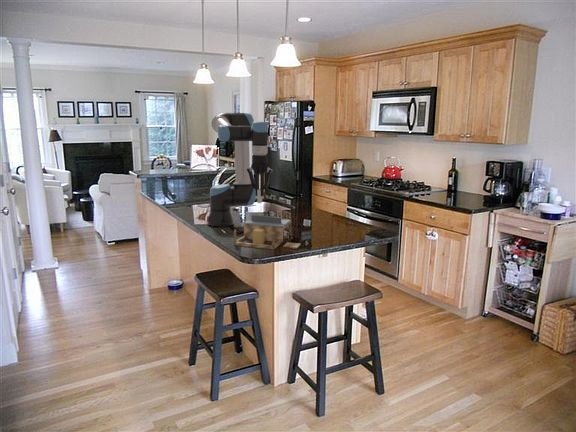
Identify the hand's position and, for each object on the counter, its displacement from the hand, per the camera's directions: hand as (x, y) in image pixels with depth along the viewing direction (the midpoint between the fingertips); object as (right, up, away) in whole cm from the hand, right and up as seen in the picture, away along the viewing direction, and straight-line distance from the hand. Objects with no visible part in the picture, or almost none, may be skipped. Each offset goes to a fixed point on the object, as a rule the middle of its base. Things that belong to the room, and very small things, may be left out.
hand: (259, 202), depth 214 cm
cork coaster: (+16, -22, +1) cm, 27 cm away
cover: (+3, -10, +15) cm, 18 cm away
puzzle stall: (+1, -19, +11) cm, 22 cm away
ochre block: (-1, -21, +4) cm, 21 cm away
